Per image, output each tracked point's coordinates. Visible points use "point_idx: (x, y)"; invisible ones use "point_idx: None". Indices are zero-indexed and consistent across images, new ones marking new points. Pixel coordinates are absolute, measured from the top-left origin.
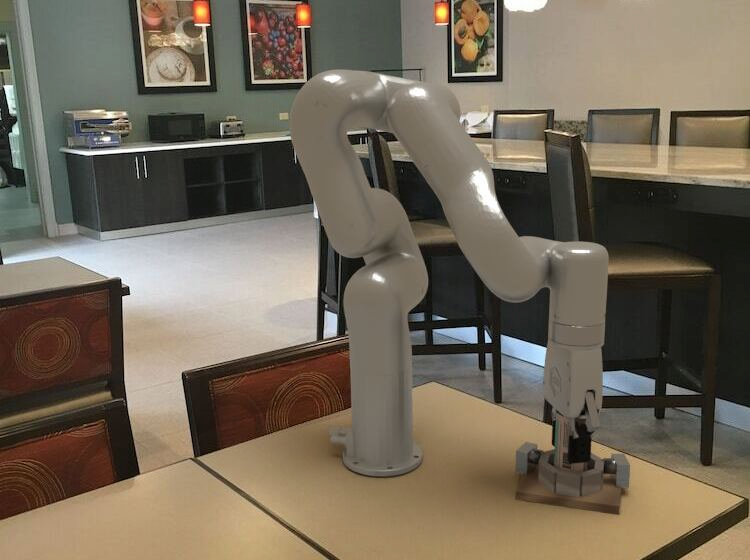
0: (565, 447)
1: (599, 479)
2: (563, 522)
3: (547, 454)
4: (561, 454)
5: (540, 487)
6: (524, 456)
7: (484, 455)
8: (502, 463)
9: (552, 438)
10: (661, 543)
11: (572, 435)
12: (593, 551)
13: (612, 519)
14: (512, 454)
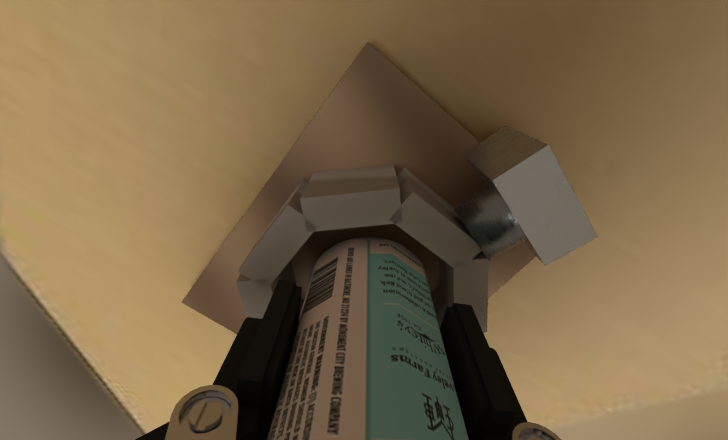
0: (317, 320)
1: None
2: (180, 121)
3: (461, 262)
4: (338, 284)
5: (362, 152)
6: (499, 166)
7: (722, 109)
8: (624, 142)
9: (472, 325)
10: (44, 296)
11: (229, 400)
12: (2, 114)
13: (173, 259)
14: (654, 209)
